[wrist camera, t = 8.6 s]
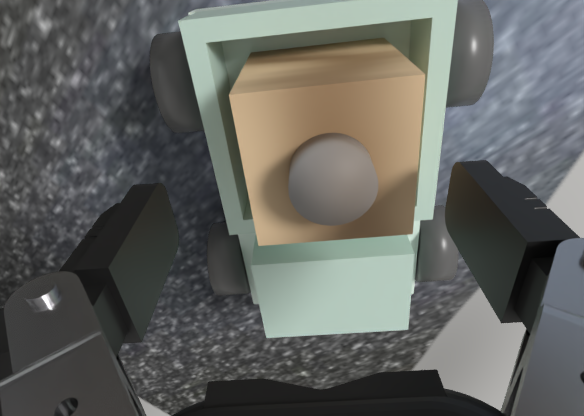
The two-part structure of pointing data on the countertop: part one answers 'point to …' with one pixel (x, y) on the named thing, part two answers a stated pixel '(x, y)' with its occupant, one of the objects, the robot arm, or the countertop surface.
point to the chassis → (230, 175)
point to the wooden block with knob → (329, 140)
